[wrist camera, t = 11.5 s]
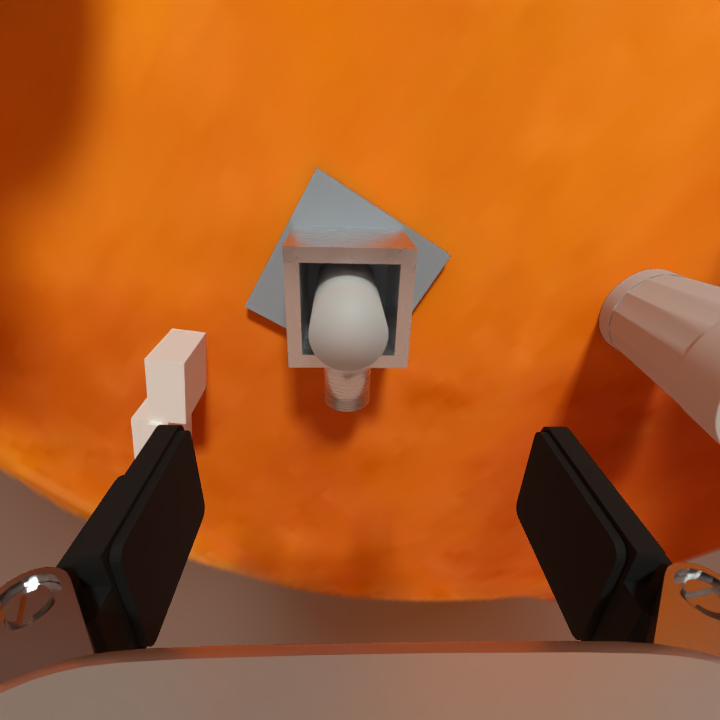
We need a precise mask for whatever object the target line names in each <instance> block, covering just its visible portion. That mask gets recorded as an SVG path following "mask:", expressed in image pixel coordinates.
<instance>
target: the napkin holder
mask: <svg viewBox="0 0 720 720" xmlns="http://www.w3.org/2000/svg"><path fill="white" fill-rule="evenodd" d="M144 360H145V373H146V387H147V398H146V400H145V401H144V402H143V404H142V405H141V406H140V407H139V409H138V410H137V411H136V413H135V414H134V415H133V417H132V418H131V425H132V435H133V445H134V456H135V458H136V457H137V455H138V454H139V452H140V451H141V449H142V448H143V446H144V445H145V443H146V442H147V440H148V439H149V437H150V436H151V434H152V433H153V431H154V430H155V428H156V427H157V426H158V425H182V426H183V427H184V430H189V431H190V432H191V436H192V416H191V414H192V412H193V410H194V408H195V407H196V405H197V403H198V401H199V399H200V398H201V396H202V394H203V392H204V390H205V388H206V333H204V332H196V331H188V330H180V329H171V330H170V332H169V333H168V334H167V335H166V336H165V337H164V338H163V339H162V340H161V341H160V343H159V344H158V345H157V346H156V347H155V348H154V349H153V350H152V351H151V352H150V353H149V355H148V356H147V357H146V358H145V359H144Z"/></svg>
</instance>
